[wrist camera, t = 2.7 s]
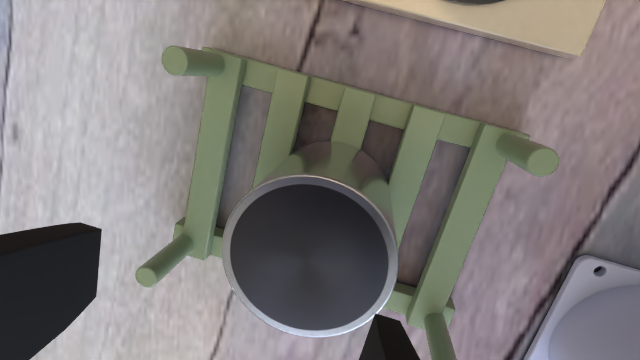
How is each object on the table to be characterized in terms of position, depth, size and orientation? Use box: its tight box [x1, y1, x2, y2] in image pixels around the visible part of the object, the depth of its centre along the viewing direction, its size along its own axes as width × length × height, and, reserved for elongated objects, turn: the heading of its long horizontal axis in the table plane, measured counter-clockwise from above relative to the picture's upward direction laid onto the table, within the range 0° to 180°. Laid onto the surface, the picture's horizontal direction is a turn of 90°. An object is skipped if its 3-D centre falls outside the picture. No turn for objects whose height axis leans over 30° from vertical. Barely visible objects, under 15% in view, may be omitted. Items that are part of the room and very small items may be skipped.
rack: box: [136, 46, 559, 360], centre depth 16 cm, size 15×10×5 cm
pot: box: [222, 141, 399, 338], centre depth 14 cm, size 6×6×6 cm
